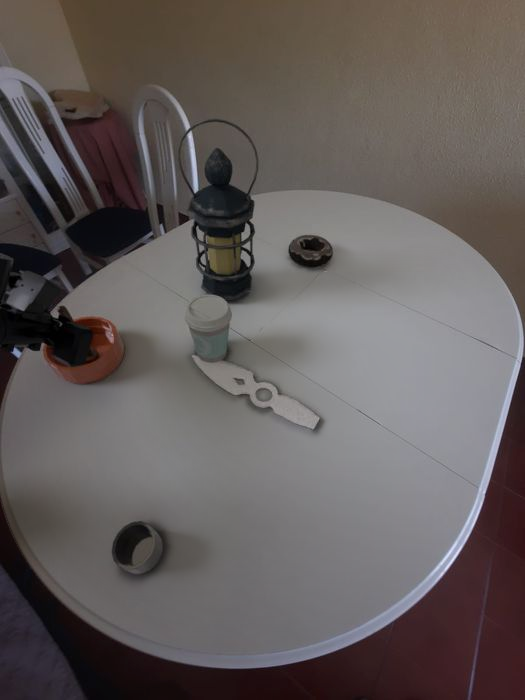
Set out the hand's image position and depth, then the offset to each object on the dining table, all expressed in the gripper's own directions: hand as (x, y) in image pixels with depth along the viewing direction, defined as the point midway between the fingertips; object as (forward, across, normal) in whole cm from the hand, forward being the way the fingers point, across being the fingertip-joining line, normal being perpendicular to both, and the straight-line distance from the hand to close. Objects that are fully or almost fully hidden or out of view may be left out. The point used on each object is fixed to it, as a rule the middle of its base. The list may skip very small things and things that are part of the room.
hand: (82, 329), depth 62 cm
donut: (+42, -25, -31) cm, 58 cm away
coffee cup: (+14, -20, -2) cm, 24 cm away
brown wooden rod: (+4, 0, +6) cm, 7 cm away
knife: (+11, -30, 0) cm, 32 cm away
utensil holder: (-10, -30, +22) cm, 38 cm away
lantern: (+27, -12, -16) cm, 34 cm away
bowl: (+5, +1, +6) cm, 8 cm away
